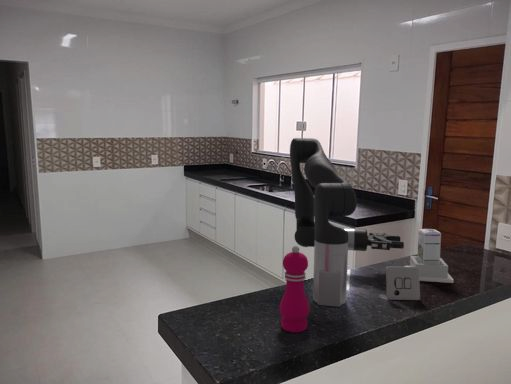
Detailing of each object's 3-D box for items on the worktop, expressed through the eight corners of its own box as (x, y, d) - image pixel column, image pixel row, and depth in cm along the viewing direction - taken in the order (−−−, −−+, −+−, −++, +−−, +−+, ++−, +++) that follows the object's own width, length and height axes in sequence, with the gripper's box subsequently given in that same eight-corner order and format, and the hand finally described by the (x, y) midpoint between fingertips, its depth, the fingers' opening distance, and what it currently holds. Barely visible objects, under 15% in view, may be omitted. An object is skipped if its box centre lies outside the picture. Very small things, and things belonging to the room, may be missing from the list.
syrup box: (439, 275, 137) (442, 232, 136) (421, 275, 138) (424, 232, 136) (433, 270, 143) (435, 228, 141) (415, 269, 143) (418, 228, 141)
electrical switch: (387, 300, 118) (387, 267, 118) (382, 295, 123) (382, 264, 123) (420, 301, 118) (421, 268, 117) (414, 296, 123) (415, 265, 123)
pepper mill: (272, 326, 101) (274, 245, 98) (292, 317, 106) (293, 240, 103) (295, 336, 96) (297, 251, 93) (315, 326, 101) (317, 246, 98)
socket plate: (453, 283, 133) (454, 267, 132) (410, 280, 136) (411, 265, 135) (443, 270, 146) (444, 256, 145) (404, 268, 148) (405, 254, 148)
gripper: (353, 233, 137) (405, 235, 134) (352, 224, 151) (399, 227, 147) (352, 255, 138) (404, 258, 134) (351, 245, 152) (398, 247, 148)
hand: (401, 242), depth 141 cm, fingers open, 8 cm apart
